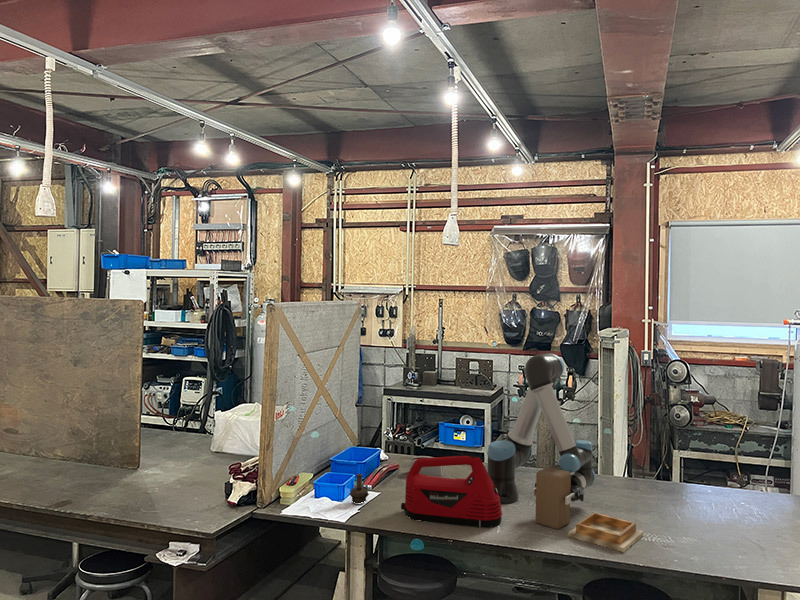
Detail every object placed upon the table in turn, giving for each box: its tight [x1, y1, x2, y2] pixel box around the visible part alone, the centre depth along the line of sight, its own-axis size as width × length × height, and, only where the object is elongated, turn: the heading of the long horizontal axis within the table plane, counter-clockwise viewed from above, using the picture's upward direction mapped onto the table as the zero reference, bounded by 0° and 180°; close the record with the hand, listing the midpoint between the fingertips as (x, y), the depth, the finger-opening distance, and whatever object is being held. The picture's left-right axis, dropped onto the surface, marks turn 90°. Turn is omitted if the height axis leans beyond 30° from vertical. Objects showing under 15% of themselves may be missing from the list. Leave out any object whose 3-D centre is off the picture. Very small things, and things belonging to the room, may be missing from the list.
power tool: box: [400, 455, 503, 529], centre depth 233 cm, size 16×40×25 cm, turn 75°
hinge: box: [409, 455, 445, 477], centre depth 289 cm, size 17×5×10 cm, turn 75°
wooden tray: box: [567, 512, 644, 553], centre depth 217 cm, size 20×20×4 cm
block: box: [534, 466, 572, 530], centre depth 228 cm, size 10×10×20 cm
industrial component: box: [349, 473, 370, 503], centre depth 247 cm, size 9×7×12 cm
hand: (549, 496), depth 226 cm, fingers open, 13 cm apart
